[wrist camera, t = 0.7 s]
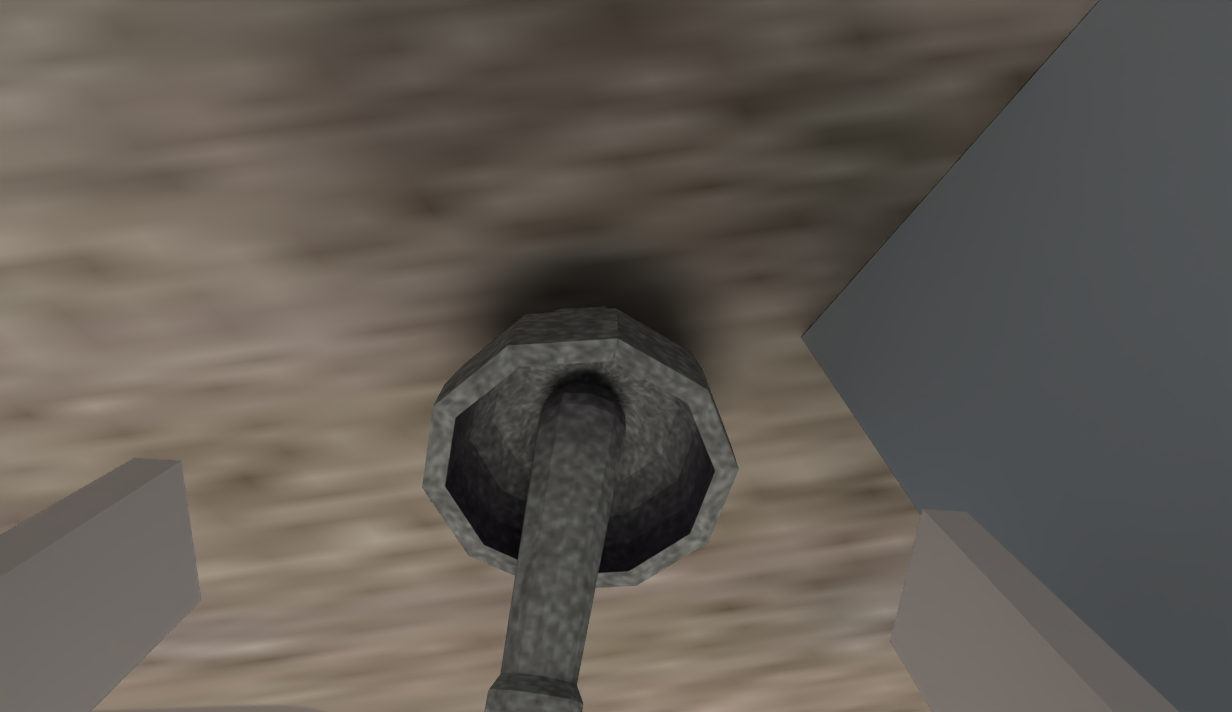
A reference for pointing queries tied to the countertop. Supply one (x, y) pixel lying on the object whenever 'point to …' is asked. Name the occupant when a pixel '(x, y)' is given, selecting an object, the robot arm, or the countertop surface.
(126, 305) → the countertop surface
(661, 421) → the mortar and pestle
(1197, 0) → the stand
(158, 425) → the countertop surface
